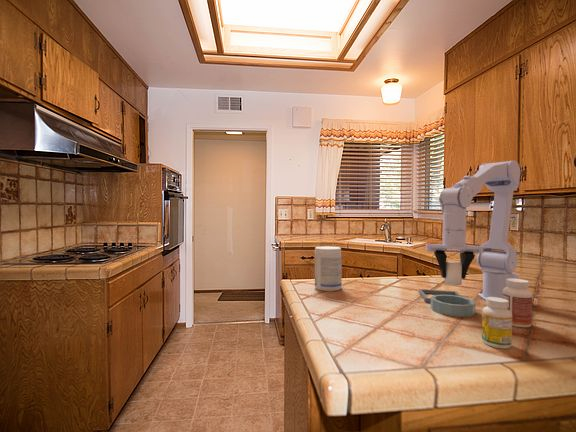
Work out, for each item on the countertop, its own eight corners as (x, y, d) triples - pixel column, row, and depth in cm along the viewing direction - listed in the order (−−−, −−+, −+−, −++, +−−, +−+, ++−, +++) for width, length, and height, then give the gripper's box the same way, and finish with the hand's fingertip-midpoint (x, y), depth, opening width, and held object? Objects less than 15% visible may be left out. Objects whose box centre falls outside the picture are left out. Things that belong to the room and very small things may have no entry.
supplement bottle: (509, 351, 65) (511, 304, 65) (479, 344, 68) (480, 299, 68) (512, 343, 69) (514, 299, 69) (483, 336, 73) (485, 294, 72)
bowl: (467, 306, 96) (467, 296, 95) (480, 318, 85) (480, 307, 85) (427, 303, 98) (427, 293, 98) (435, 314, 87) (436, 303, 87)
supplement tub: (346, 288, 115) (347, 247, 114) (330, 293, 108) (330, 250, 108) (325, 284, 122) (326, 245, 121) (308, 288, 115) (309, 247, 115)
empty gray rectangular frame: (456, 294, 108) (456, 291, 108) (468, 305, 96) (468, 301, 96) (418, 292, 111) (418, 288, 111) (425, 302, 99) (425, 298, 99)
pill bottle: (536, 325, 80) (537, 281, 80) (525, 330, 77) (526, 284, 77) (508, 318, 85) (509, 276, 85) (497, 322, 82) (498, 279, 82)
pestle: (459, 282, 93) (459, 261, 93) (463, 285, 89) (464, 264, 88) (442, 281, 94) (443, 260, 94) (446, 284, 90) (447, 263, 89)
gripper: (429, 230, 89) (428, 279, 89) (488, 231, 85) (486, 282, 86) (424, 228, 95) (423, 274, 96) (478, 229, 92) (477, 276, 93)
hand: (453, 277), depth 91 cm, fingers closed on pestle, 4 cm apart
